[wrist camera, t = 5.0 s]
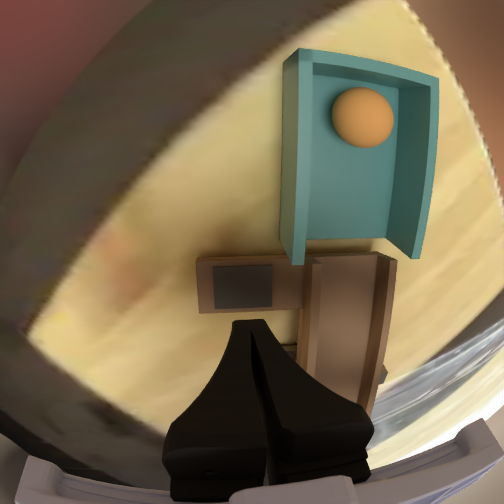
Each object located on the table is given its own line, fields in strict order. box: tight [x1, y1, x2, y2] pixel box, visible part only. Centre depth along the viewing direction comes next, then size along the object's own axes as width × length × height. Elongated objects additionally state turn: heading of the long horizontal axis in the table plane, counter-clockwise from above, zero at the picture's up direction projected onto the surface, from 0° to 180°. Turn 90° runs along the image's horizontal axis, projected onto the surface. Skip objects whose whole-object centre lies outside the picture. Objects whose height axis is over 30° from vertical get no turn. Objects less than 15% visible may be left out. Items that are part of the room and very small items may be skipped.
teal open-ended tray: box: [279, 48, 439, 265], centre depth 14 cm, size 10×8×4 cm
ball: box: [332, 87, 394, 148], centre depth 13 cm, size 3×3×3 cm
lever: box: [196, 251, 397, 417], centre depth 18 cm, size 18×12×3 cm, turn 0°
